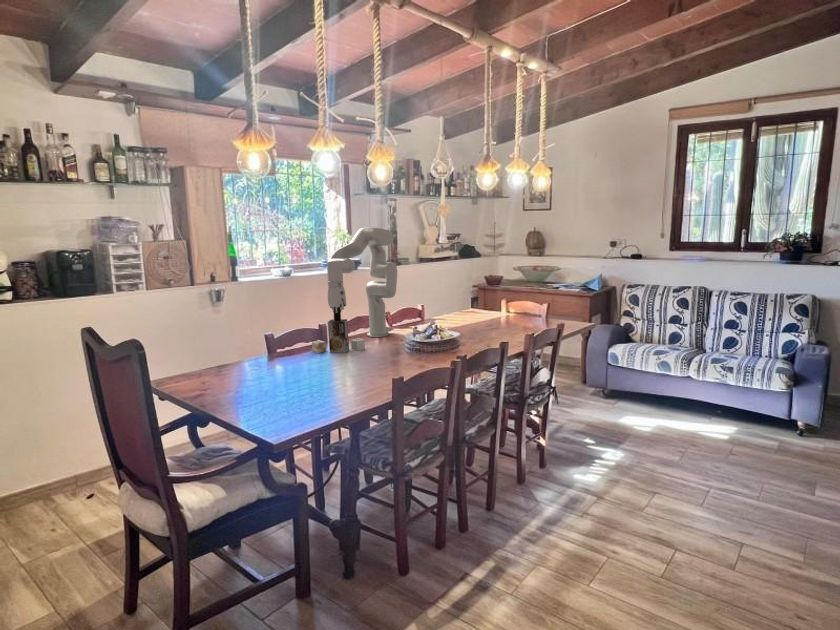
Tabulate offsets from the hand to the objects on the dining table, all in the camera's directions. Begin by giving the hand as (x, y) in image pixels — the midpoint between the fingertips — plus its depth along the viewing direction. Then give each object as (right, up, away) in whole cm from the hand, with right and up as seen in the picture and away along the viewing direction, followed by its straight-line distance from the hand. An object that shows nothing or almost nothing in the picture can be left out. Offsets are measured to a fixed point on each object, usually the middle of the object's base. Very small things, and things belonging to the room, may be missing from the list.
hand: (337, 320), depth 272 cm
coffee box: (+1, -16, +3) cm, 16 cm away
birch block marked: (-10, -16, +4) cm, 19 cm away
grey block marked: (+10, -15, +7) cm, 19 cm away
